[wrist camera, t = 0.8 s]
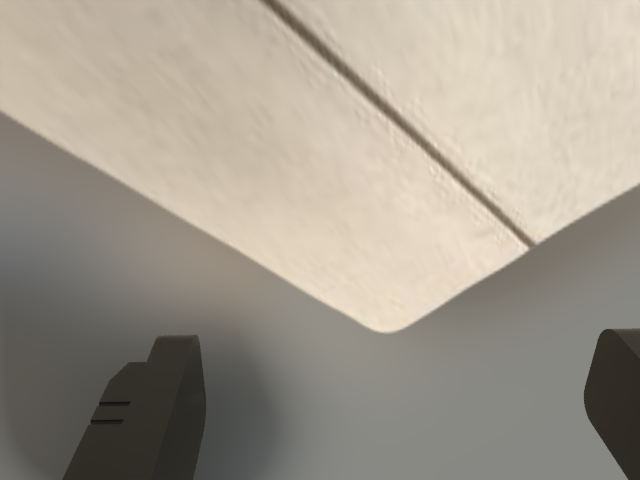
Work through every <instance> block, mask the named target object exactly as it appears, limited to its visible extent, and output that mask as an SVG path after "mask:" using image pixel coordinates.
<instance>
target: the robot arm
mask: <svg viewBox="0 0 640 480" xmlns="http://www.w3.org/2000/svg"><path fill="white" fill-rule="evenodd" d="M584 404H585V409H586V413H587V415H588V418H589V420H590V422H591V423H592V425H593V426H594V428H595V429H596V431H597V432H598V434H599V435H600V437H601V439H602V440H603V442H604V443H605V445H606V446H607V448H608V449H609V451H610V452H611V454H612V455H613V457H614V458H615V460H616V461H617V463H618V464H619V466H620V467H621V469H622V470H623V472H624V474H625V475H626V476H627V478H628V480H640V329H606V330H604V331H603V332H602V333H601V334H600V336H599V339H598V342H597V346H596V349H595V353H594V356H593V360H592V364H591V367H590V371H589V375H588V378H587V382H586V385H585V390H584ZM205 419H206V393H205V385H204V376H203V367H202V358H201V349H200V342H199V338H198V336H197V335H168V336H167V335H163V336H158V337H157V339H156V340H155V343H154V345H153V348H152V350H151V353H150V355H149V358H148V360H147V362H129V363H128V364H127V365H126V366H125V367H124V368H123V369H122V370H121V371H119V372H118V373H117V374H116V375H115V376H114V377H113V378H112V379H111V380H110V381H109V383H108V385H107V387H106V389H105V391H104V394H103V395H102V397H101V400H100V402H99V406H97V408H96V410H95V412H94V414H93V416H92V418H91V424H90V425H88V427H87V429H86V431H85V433H84V435H83V437H82V439H81V442H80V444H79V446H78V448H77V450H76V452H75V454H74V456H73V458H72V461H71V462H70V464H69V467H68V469H67V471H66V473H65V475H64V477H63V479H62V480H193V479H194V474H195V469H196V464H197V460H198V455H199V451H200V446H201V441H202V437H203V432H204V427H205Z"/></svg>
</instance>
